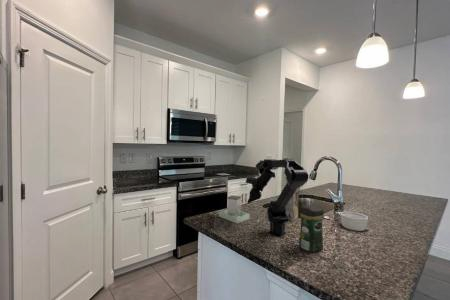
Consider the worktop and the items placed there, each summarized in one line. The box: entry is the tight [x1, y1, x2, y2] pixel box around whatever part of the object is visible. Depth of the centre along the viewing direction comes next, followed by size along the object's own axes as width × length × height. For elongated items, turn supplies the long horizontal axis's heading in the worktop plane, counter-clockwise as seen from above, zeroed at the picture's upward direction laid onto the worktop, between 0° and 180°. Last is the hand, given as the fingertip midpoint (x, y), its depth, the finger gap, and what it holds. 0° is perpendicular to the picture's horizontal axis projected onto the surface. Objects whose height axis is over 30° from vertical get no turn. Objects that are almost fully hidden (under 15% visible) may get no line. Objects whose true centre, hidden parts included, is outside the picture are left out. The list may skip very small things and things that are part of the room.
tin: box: [226, 195, 242, 218], centre depth 128 cm, size 6×6×12 cm
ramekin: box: [340, 211, 369, 232], centre depth 118 cm, size 13×13×7 cm
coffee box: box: [285, 191, 300, 222], centre depth 130 cm, size 9×6×16 cm
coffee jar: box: [298, 204, 325, 253], centre depth 92 cm, size 10×8×19 cm
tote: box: [218, 209, 250, 224], centre depth 128 cm, size 15×11×3 cm
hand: (248, 199), depth 124 cm, fingers open, 9 cm apart
